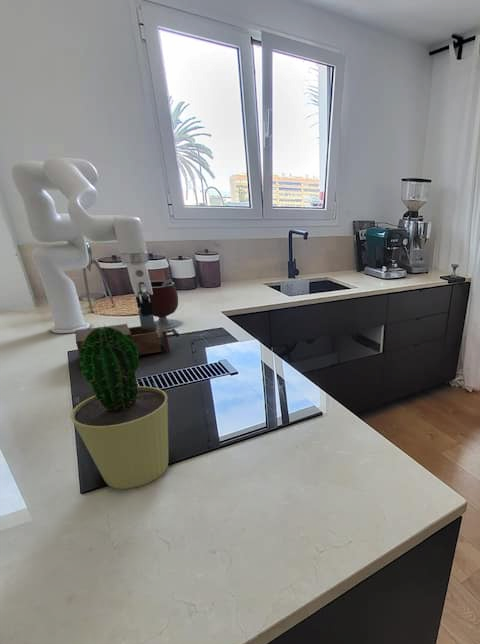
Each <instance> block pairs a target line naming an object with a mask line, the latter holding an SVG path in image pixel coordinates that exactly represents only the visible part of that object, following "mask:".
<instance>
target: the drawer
mask: <svg viewBox="0 0 480 644" xmlns="http://www.w3.org/2000/svg"><path fill="white" fill-rule="evenodd" d="M128 328H129V330H130V332H131V335H132V340H133V343H134V344H135V345H136V347H137V350H138V351H137V352H139V353H138V356H140V355H141V356H142V355H146V354H147V355H149V354H154V353H160V352H162V348H163V350H164V351H165V352H166V353H170V352H171V349H170V344H169V339H168V338H171V337H175V338H179V336H180V333H179V332H178V330H177V329H176V328H175V327H174V328H171V329H164V327H163V326H162V324H161V323H157V328H158V330H157V331H156V332H152V333H145V334H143V333H142V328H141V325H139V326H138V325H137V326H132V327H128ZM168 333H171V334H168ZM159 340H160V342H161V343H162V348H161V347H160V342H159ZM136 341H137V342H138V343H137V342H136ZM136 343H137V344H138V345H137V344H136ZM140 343H141V344H140Z"/></svg>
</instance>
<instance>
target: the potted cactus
mask: <svg viewBox="0 0 480 644" xmlns="http://www.w3.org/2000/svg"><path fill="white" fill-rule="evenodd" d="M103 325H104V326H103V327H104V329H103V328H101V329H99V328H98V327H100V326H99V325H97V327H96V328H97V329H94V330H93V331H92V332H90V330H88V331H89V334H88V336H87V337H86V339H85V343H83V345H82V348H81V351H80V353H79V352H78V355H79V354H80V355H79V359H78V358H77V359H76V360H77V361H78V362H79V365H80V368H81V375H80V376H79V377H82V376H83V377H84V380H83V383H84V382H86V383H88V384H87V388H88V387H89V389H88V390H90V389H92V391H90V392H89V393H87V394H94V395H92V396H91V397H89V398H86V399H85V400H83V401H81V402H80V403H78V404H77V405H76V406H75V407H74V408H73V409H72V411H71V412H70V419H71V421H72V422H73V425H74V427H75V429H76V430H77V432H78V434H79V436H80V438H81V440H82V441H83V443H84V445H85V447H86V449H87V451H88V453H89V455H90V456H91V458H92V460H93V462H94V464H95V466H96V468H97V469H98V471H99V473H100V475H101V477H102V479H103V481H104V483H106V484H107V486H109V487H111V488H113V489H119V490H124V489H125V490H126V489H133V488H138V487H141V486H144V485H147V484H150V483H152V482H153V481H155V480H157V479H158V478H159V477H161V476H162V475H163V474H164V473H165V472H166V470H167V469H168V466H169V460H170V459H169V457H170V455H169V409H168V407H169V405H168V403H169V402H168V394H167V393H166V392H165V391H164V390H162V389H160V388H158V387H153V386H145V385H144V386H143V385H142V386H141V385H140V386H139V383H138V381H139V380H140V378H138V379H137V374H138V373H141V372H140V371H139V370H137V369H139V367H140V366H141V365H142V364H143V365H144V362H142V361H140V360H139V358H140V357H142V355H138V353H139V352H137V351H138V350H137V347H136V345H135V344H134V343H133V340H132V338H131V340H132V341H131V340H130V339H129V338H128V337H129V336H127V335H128V334H129V333H128V334H127V335H126V334H125V335H126V336H125V335H124V334H123V332H121V331H119V330H118V329H120V328H118V329H114V328H110V327H109V328H107V327H106V324H103ZM120 327H121V326H120ZM125 332H126V331H125ZM125 332H124V333H125ZM81 340H82V339H81ZM76 342H77V341H76V340H75V343H76ZM80 342H81V341H80ZM82 342H84V341H83V340H82ZM82 342H81V343H82ZM136 342H137V341H136ZM137 343H138V342H137ZM137 343H136V344H137ZM79 344H80V343H79ZM140 344H141V343H140ZM80 345H81V344H80ZM137 345H138V344H137ZM76 350H77V351H78V348H76ZM137 371H138V372H137ZM85 380H86V381H85ZM87 388H86V389H87Z"/></svg>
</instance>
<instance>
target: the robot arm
mask: <svg viewBox="0 0 480 644" xmlns="http://www.w3.org/2000/svg"><path fill="white" fill-rule="evenodd" d="M11 177H12V180H13V183H14V186H15V187H16V189H17V191H18V193H19V194H20V196H21V199H22V201H23V205H24V209H25V213H26V219H27V222H28V227H29V229H30V234H31V235H32V238H34V239H35V240H36V241H38V242H41V243H55V242H57V243H58V242H66V243H65V244H50V245H41V246H37V247H35V248H34V249H33V250H32V251H31V254H30V257H31V260H32V263H33V265H34V267H35V268H36V272H37V273H38V275H39V277H40V281H41V283H42V286H43V289H44V292H45V295H46V300H47V302H48V306H49V310H50V312H51V316H52V319H53V323H54V325H53V326H51V328H50V330H51V332H52V333H55V334H70V333H71V334H72V333H75V330H82V329H90V327H91V323H90V322H89V321H85V318H84V315H83V311H82V307H81V303H80V300H79V296H78V292H77V288H76V285H75V283H74V281H73V280H72V278H70V277H69V276H68V275H67V274H66V273H65V272H68V271H77V270H83V268H87V266H88V264H89V256H88V250H87V245H86V242H87V240H86V239H88V240H89V241H91V242H96V243H100V242H112V241H113V242H114V241H116V243H117V247H118V251H119V256H120V260H121V264H122V265H125V266H126V268H127V272H128V277H129V281H130V285H131V289H132V291H133V293H134V294H135V301H136V306H137V309H138V310H139V308H140V307H141V311H142V315H143V316H146V315H153V309H152V304H151V302H150V298H149V294H150V295H153V291H152V287H151V282H150V281H151V278H150V274H149V273H150V272H149V270H148V265H147V264H149V263H150V261H149V255H148V250H147V244H146V239H145V235H144V230H143V229H144V228H143V224H142V220H141V219H140V218H139V217H137V216H131V215H129V216H127V215H123V214H93V215H92V214H89V213H88V212H87V211H86V210H88V209H90V208H91V207H93V206H94V205H95V204H96V203H97V202H98V197H99V193H98V191H97V189H96V188H95V187H96V186H97V184H98V183H99V174H98V170H97V169H96V168H95V166H94V165H93V164H92V163H91V162H90V161H89V160H86V159H84V158H77V157H67V156H66V157H64V156H52V157H49V158H47V159H45V160H44V161H42V160H18V161H16V162H14V163H13V164H12V167H11ZM46 190H51V191H52V190H54V191H60V193H61V194H62V195H63V196H64V197H65V198H66V199H67V200H68V202H67V212H68V213H58V212H57V209H56V203H55V201H54V199H53V198H52V195H50V193H48V191H46ZM148 293H149V294H148Z"/></svg>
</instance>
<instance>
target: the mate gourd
mask: <svg viewBox="0 0 480 644" xmlns="http://www.w3.org/2000/svg"><path fill="white" fill-rule="evenodd" d="M173 280H174V279H173V278H169V279H166V280H150V282H151V287H152V291H153V295H150V294H149V293H148V294H149V298H150V302H151V304H152V309H153V317H157V318H158V320H154V323H155V328H156V331H158V328H157V323H161V324H162V326H163V327H164V329H165V330H171V329H173V328H174V329H175V328H177V327H179V326H180V325H181V322H180V321H179V320H178V319H173V318H172V319H170V318H169V319H168V318H167V317H168V316H170V315H173V314H174V313H175V312H176V310H177V308H178V306H179V296H178V291H177V287H176V285H175V282H173Z"/></svg>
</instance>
